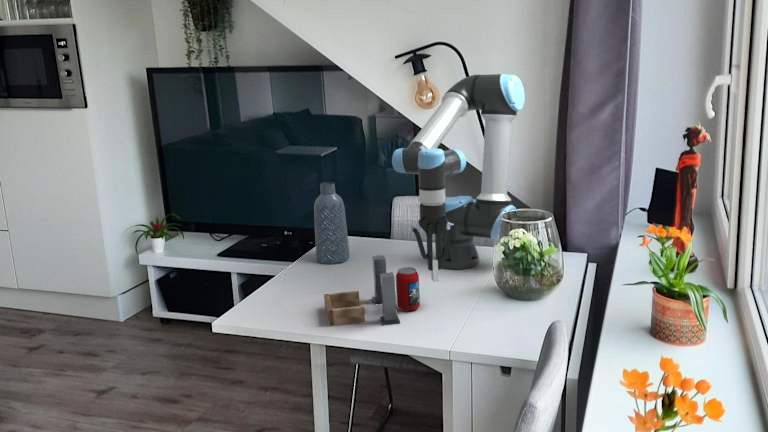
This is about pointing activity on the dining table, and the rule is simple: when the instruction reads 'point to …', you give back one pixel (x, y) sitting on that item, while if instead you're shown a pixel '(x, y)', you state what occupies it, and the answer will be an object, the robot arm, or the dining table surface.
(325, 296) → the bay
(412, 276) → the beverage can
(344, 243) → the vase
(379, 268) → the post far
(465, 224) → the robot arm
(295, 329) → the dining table surface
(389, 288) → the post near
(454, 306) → the dining table surface
